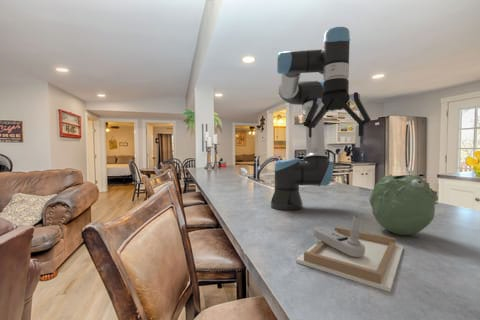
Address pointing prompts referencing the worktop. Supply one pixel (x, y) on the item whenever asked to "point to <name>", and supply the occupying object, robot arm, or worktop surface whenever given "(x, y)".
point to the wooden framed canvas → (358, 260)
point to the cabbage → (403, 203)
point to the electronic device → (343, 239)
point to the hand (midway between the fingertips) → (334, 147)
